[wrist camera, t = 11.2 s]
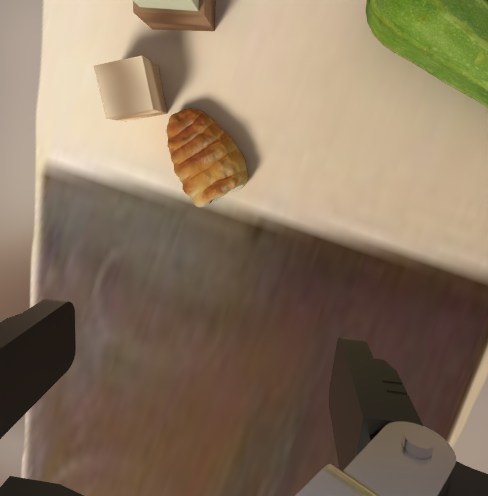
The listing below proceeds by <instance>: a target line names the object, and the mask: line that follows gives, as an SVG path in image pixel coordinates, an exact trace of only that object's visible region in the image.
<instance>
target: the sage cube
mask: <svg viewBox="0 0 488 496" xmlns="http://www.w3.org/2000/svg"><path fill="white" fill-rule="evenodd" d="M133 1H134V2H135V3H136V4H137V5H138V6H139V7H146V8H160V9H175V10H189V11H199V0H133Z"/></svg>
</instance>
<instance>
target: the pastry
mask: <svg viewBox="0 0 488 496" xmlns="http://www.w3.org/2000/svg"><path fill="white" fill-rule="evenodd" d="M167 135H168V147H169V151H170V154H171V159H172V162H173V163H174V171H175V173H176V175H177V176H178V177H179V178H180V180H181V182H182V183H183V190H184V192H185V193H186V194H187V195H189V196H190V197H191V198H192V200H193V202H194V204H195V205H196V206H197V207H204V206H206V205H208V204H210V203H211V202H212V201H215V200H217V199H219V198H220V197H222V196H224V195H225V194H226V193H227V192H234V191H237V190H239V189H240V188H243V187H244V186H245V184H246V183H247V180H248V174H247V170H246V162H245V158H244V156H243V155H242V154H241V152H240V151H239V150H238V148H237V147H236V145H235V144H234V142H233V140H232V139H231V137H230V136H228V135H227V134H226V133H225V131H223V130H222V129H221V128H220V127H219V126H218V125H217V124H216V123H215V122H214V121H213V120H212V119H211V118H210V117H209V116H207V115H206V114H205V113H204V112H202V111H198V110H194V109H192V108H189V109H184V110H182V111H180V112H178V113H175V114H173V115H172V116H171V117H170V119H169V123H168V126H167Z"/></svg>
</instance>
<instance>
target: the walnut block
mask: <svg viewBox="0 0 488 496" xmlns="http://www.w3.org/2000/svg"><path fill="white" fill-rule="evenodd" d="M133 11H134V13H135V14H136V15H137V16H138V17H139V18H140V19H141V20H143V21H144V22H145V23H146V24H147V25H148V26H149V27H150V28H152V29H155V30H191V31H214V30H215V0H199V11H189V10H175V9H160V8H146V7H139V6H138V5H137V4H136V3H135V2H134V1H133Z"/></svg>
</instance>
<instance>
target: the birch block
mask: <svg viewBox="0 0 488 496" xmlns="http://www.w3.org/2000/svg"><path fill="white" fill-rule="evenodd" d="M94 69H95V73H96V78H97V82H98V86H99V90H100V94H101V99H102V103H103V107H104V111H105V116H106V119H112V120H119V121H131V120H136V119H141V118H146V117H152V116H157V115H162V114H167V109H166V104H165V99H164V94H163V89H162V84H161V79H160V74H159V69H158V65H156V64H154V63H153V62H151V61H150V60H148V59H147V58H145V57H143V56H137V57H132V58H128V59H123V60H118V61H114V62H109V63H105V64H100V65H95V66H94Z"/></svg>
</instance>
